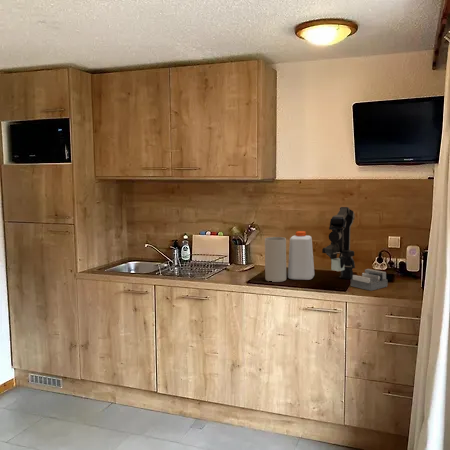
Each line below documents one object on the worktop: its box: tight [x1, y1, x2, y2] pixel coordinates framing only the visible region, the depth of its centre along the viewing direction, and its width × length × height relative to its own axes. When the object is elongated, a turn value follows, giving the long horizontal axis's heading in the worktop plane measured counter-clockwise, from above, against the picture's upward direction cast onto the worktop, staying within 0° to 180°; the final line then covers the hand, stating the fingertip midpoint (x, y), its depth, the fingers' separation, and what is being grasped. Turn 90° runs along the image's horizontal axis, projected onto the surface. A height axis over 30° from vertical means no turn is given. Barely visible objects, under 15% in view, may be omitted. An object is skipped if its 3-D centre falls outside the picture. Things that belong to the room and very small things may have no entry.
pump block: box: [330, 257, 344, 272], centre depth 277 cm, size 5×5×6 cm
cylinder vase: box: [264, 236, 287, 283], centre depth 298 cm, size 12×12×25 cm
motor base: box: [350, 268, 388, 292], centre depth 278 cm, size 14×14×8 cm
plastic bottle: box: [287, 230, 315, 281], centre depth 303 cm, size 15×15×28 cm
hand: (337, 267), depth 277 cm, fingers closed on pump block, 5 cm apart
